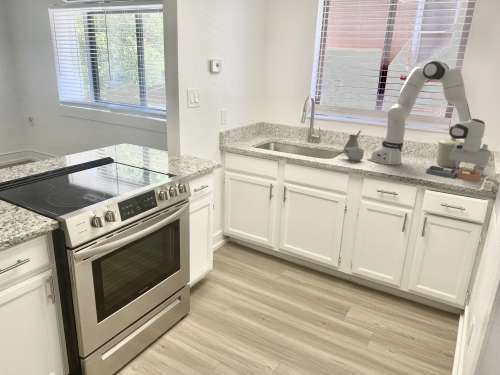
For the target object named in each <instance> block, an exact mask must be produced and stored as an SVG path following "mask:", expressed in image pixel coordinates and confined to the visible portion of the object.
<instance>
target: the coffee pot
mask: <svg viewBox="0 0 500 375" xmlns="http://www.w3.org/2000/svg"><path fill="white" fill-rule="evenodd" d="M361 133H363V131H362V130H359V131H358V132H357V133H356V135H355V134H349V135H348V136H349V139H348V140H347V142H346V144H345V146H344V148H351V147H356V148H360V146H359V142H358V138H359V135H360V134H361ZM344 148H343V149H344ZM345 152H346V153H347V154H348V151H347V149H345Z"/></svg>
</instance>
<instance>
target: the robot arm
mask: <svg viewBox="0 0 500 375" xmlns="http://www.w3.org/2000/svg"><path fill="white" fill-rule="evenodd" d="M429 80H430V81H439V82H440V81H441V83H442V89H443V96H444V98H445V101H446V102H447V103H449V104H451V105H452V106H454V108H455V109H456V111H457V116H458V120H459V122H457V123H453V124H451V125H450V127H449V130H448V134H449V136H450V138H451V137H452V138H454V139H456V140H461V139H462V140H464V141H463V142H464V143H458V144H456V145H455V148H454V149H453V150H452V152H451V154H450V160H456V161H455V163H456V168H455V169H459V168H460V165H461V164H460V165H458V161H461V162H463V163H469V164H474V165H475V164H477V166H478V167H477V168H474V167H473V168H474V171H477V169H478V168H479V167H480V165H485V167H486V166H487V165H488V164H489V158H490V157H491V155H492V152H491V150H490V149H488V148H487V149H481V145H482V144H483V142H482V141H483V140H482V139H483V137H484V134H485V130H486V123H485V121H484V120H481V119H478V118H472V117H471V116H472V115H471V112H470V108H469V102H468V100H467V95H466V88H465V84H464V78H463V75H462V72H461V70H460V69H458V68H449V65H448V64H446V63H445V62H442V61H438V60H431V61H428V62H427V63H426V64H425V65H424V66H423V67H421V66H420V67H419V66H417V67H415V68H413V69H412V70H411V72H410V74H409V75H408V77H407V78H406V80H405V82H404V83H403V84H404V85H402V88H401V90H400V92H399V95H398V97H397V99H396V103H395V105H393V106H391V107H390V108H389V109H388V111H387V127H386V128H387V129H386V137H385V139H384V140H383V141H382V142H381V146H379V147H377V148H375V149H374V150H373V151H372V153H371V154H370V156H368V157H367V160H368V161H371V162H375V163H378V164H379V163H380V164H382V165H387V166H388V165H401V164H402V163H403V162H402V151H403V147H404V138H405V133H406V132H405V129H406V119H408V118H409V116H410V115H411V112H412V110H413V108H414V106H415V103H416V100H417V99H418V97H419V95H420V94H421V91H422V90H423V87H424V85H425V84H426V83H427V81H429ZM461 162H460V163H461Z"/></svg>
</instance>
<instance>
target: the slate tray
mask: <svg viewBox="0 0 500 375" xmlns="http://www.w3.org/2000/svg"><path fill="white" fill-rule="evenodd" d="M444 168H445V167H442V166H438V165H437V166H436V165H430V166H429V167H427V169H426V171H425V173H426V174H430V175H435V176H439V177H444V178H449V179H454V178H455V177H457V174H458V171H459V169H455V168H451V169H452V173H451V174H449V173H444V172H443V169H444Z"/></svg>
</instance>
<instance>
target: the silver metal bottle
mask: <svg viewBox="0 0 500 375" xmlns="http://www.w3.org/2000/svg"><path fill="white" fill-rule="evenodd" d="M480 148H481V149H488V148H489V145H488V144H485V143H481V147H480ZM477 167H478V166H477V164H474V166H473V169H472V171H474V168H477ZM485 167H486V166H485V165H480V167H479V168H478V169H477V171H476V172H479V173H481V174H482V175H481V177H484V175H485V169H486V168H485Z"/></svg>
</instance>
